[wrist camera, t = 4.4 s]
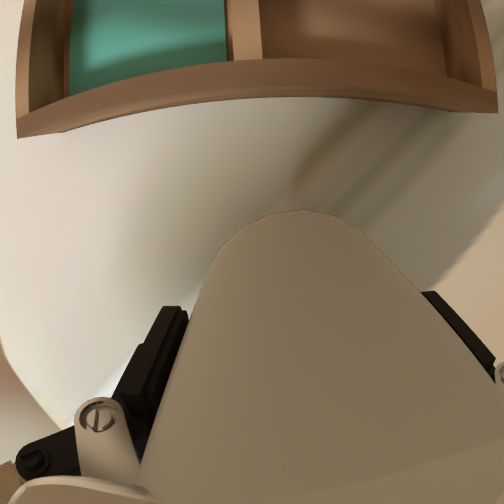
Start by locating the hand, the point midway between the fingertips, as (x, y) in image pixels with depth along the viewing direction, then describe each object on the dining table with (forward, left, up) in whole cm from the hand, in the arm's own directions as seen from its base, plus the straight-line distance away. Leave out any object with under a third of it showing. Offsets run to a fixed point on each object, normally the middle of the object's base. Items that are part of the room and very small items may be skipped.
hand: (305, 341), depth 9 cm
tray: (+14, +1, -7) cm, 16 cm away
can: (0, 0, -4) cm, 4 cm away
